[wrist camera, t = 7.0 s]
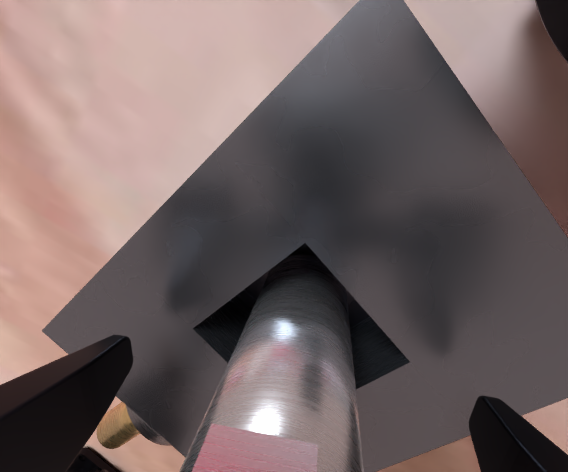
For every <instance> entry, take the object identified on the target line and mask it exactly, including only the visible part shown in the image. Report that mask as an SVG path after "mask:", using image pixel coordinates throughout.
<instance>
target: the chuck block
mask: <svg viewBox="0 0 568 472" xmlns="http://www.w3.org/2000/svg"><path fill="white" fill-rule="evenodd" d="M294 255H312V256H316V257H318V258H319V259H320V260H321V261H322V262H323V263H324V264H325V266H326V267H327V268H328V269H329V270H330V271H331V272H332V274H333V275H334V276H335V277H336V278H337V279H338V280H339V281H340V283H341V284H342V285H343V286H344V287H345V288H346V293H347V303H348V313H349V324H350V334H351V345H352V355H353V365H354V376H355V386H356V397H357V407H358V417H359V428H360V438H361V449H362V459H363V469H364V472H376V471H379V470H381V469H384V468H386V467H389V466H392V465H394V464H397V463H399V462H402V461H405V460H407V459H410V458H412V457H415V456H418V455H420V454H423V453H425V452H428V451H431V450H433V449H436V448H438V447H441V446H444V445H446V444H449V443H451V442H454V441H457V440H459V439H462V438H464V437H467V436H470V435H471V434H470V431H469V418H470V416H471V413H472V410H473V408H474V405H475V403H476V400H477V398H478V397H479V396H482V395H483V396H489V397H495V398H499V399H501V400H502V401H503V402H505V403H506V404H507V405H508V406H509V407H511V408H512V409H513V410H514V411H515V412H517V413H518V414H519V415H520V416H522V415H524V414H527V413H529V412H532V411H535V410H537V409H540V408H542V407H545V406H548V405H550V404H553V403H555V402H558V401H561V400H563V399H566V398H568V238H567V236H566V235H565V233H564V232H563V230H562V229H561V227H560V226H559V225H558V223H557V222H556V220H555V219H554V217H553V216H552V214H551V213H550V212H549V210H548V209H547V207H546V206H545V204H544V203H543V201H542V200H541V198H540V197H539V196H538V194H537V193H536V191H535V190H534V188H533V187H532V185H531V184H530V183H529V181H528V180H527V178H526V177H525V175H524V174H523V172H522V171H521V170H520V168H519V167H518V165H517V164H516V162H515V161H514V159H513V158H512V157H511V155H510V154H509V152H508V151H507V149H506V148H505V146H504V145H503V144H502V142H501V141H500V139H499V138H498V136H497V135H496V133H495V132H494V131H493V129H492V128H491V126H490V125H489V123H488V122H487V120H486V119H485V118H484V116H483V115H482V113H481V112H480V110H479V109H478V107H477V106H476V105H475V103H474V102H473V100H472V99H471V97H470V96H469V94H468V93H467V91H466V90H465V89H464V87H463V86H462V84H461V83H460V81H459V80H458V78H457V77H456V76H455V74H454V73H453V71H452V70H451V68H450V67H449V65H448V64H447V63H446V61H445V60H444V58H443V57H442V55H441V54H440V52H439V51H438V50H437V48H436V47H435V45H434V44H433V42H432V41H431V39H430V38H429V37H428V35H427V34H426V32H425V31H424V29H423V28H422V26H421V25H420V24H419V22H418V21H417V19H416V18H415V16H414V15H413V13H412V12H411V11H410V9H409V8H408V6H407V5H406V3H405V2H404V0H360V1H359V2H358V3H357V4H356V5H355V6H354V7H353V8H352V9H351V10H350V11H349V12H348V13H347V14H346V15H345V16H344V17H343V18H342V19H341V20H340V21H339V22H338V23H337V25H336V26H335V27H334V28H333V29H332V30H331V31H330V32H329V33H328V34H327V35H326V36H325V37H324V38H323V39H322V40H321V41H320V42H319V43H318V44H317V45H316V46H315V47H314V48H313V49H312V50H311V52H310V53H309V54H308V55H307V56H306V57H305V58H304V59H303V60H302V61H301V62H300V63H299V64H298V65H297V66H296V67H295V68H294V69H293V70H292V71H291V72H290V73H289V74H288V75H287V76H286V77H285V79H284V80H283V81H282V82H281V83H280V84H279V85H278V86H277V87H276V88H275V89H274V90H273V91H272V92H271V93H270V94H269V95H268V96H267V97H266V98H265V99H264V100H263V101H262V102H261V103H260V105H259V106H258V107H257V108H256V109H255V110H254V111H253V112H252V113H251V114H250V115H249V116H248V117H247V118H246V119H245V120H244V121H243V122H242V123H241V124H240V125H239V126H238V127H237V128H236V129H235V130H234V132H233V133H232V134H231V135H230V136H229V137H228V138H227V139H226V140H225V141H224V142H223V143H222V144H221V145H220V146H219V147H218V148H217V149H216V150H215V151H214V152H213V153H212V154H211V155H210V156H209V158H208V159H207V160H206V161H205V162H204V163H203V164H202V165H201V166H200V167H199V168H198V169H197V170H196V171H195V172H194V173H193V174H192V175H191V176H190V177H189V178H188V179H187V180H186V181H185V182H184V183H183V185H182V186H181V187H180V188H179V189H178V190H177V191H176V192H175V193H174V194H173V195H172V196H171V197H170V198H169V199H168V200H167V201H166V202H165V203H164V204H163V205H162V206H161V207H160V208H159V209H158V210H157V212H156V213H155V214H154V215H153V216H152V217H151V218H150V219H149V220H148V221H147V222H146V223H145V224H144V225H143V226H142V227H141V228H140V229H139V230H138V231H137V232H136V233H135V234H134V235H133V236H132V238H131V239H130V240H129V241H128V242H127V243H126V244H125V245H124V246H123V247H122V248H121V249H120V250H119V251H118V252H117V253H116V254H115V255H114V256H113V257H112V258H111V259H110V260H109V261H108V262H107V263H106V265H105V266H104V267H103V268H102V269H101V270H100V271H99V272H98V273H97V274H96V275H95V276H94V277H93V278H92V279H91V280H90V281H89V282H88V283H87V284H86V285H85V286H84V287H83V288H82V289H81V290H80V292H79V293H78V294H77V295H76V296H75V297H74V298H73V299H72V300H71V301H70V302H69V303H68V304H67V305H66V306H65V307H64V308H63V309H62V310H61V311H60V312H59V313H58V314H57V315H56V316H55V318H54V319H53V320H52V321H51V322H50V323H49V324H48V325H47V326H46V327H45V328H44V329H43V330H42V331H43V332H44V333H45V334H46V335H47V336H48V337H49V338H51V339H52V340H53V341H54V342H55V343H56V344H57V345H59V346H60V347H61V348H62V349H63V350H64V351H65V352H66V353H68V354H71V353H73V352H76V351H78V350H80V349H82V348H85V347H87V346H89V345H91V344H94V343H96V342H98V341H100V340H103V339H105V338H107V337H109V336H112V335H123V336H127V337H129V338H130V340H131V346H132V353H133V365H132V368H131V370H130V372H129V374H128V375H127V377H126V379H125V381H124V382H123V384H122V386H121V387H120V389H119V391H118V393H117V394H116V397H118V398H119V399H120V400H121V401H122V402H121V403H120V404H118V405H117V406H116V407H114V408H113V409H112V410H110V411H109V412H107V413H106V414H105V415H104V417H103V418H102V420H101V422H100V423H99V425H98V427H97V437H98V440H99V442H100V443H101V444H102V445H103V446H104V447H106V448H109V449H114V448H118V447H120V446H122V445H123V444H125V443H126V442H128V441H129V440H131V439H133V438H134V437H136V436H137V435H139V434H140V433H141V434H142V435H143V436H144V437H145V438H147V439H148V440H150V441H152V442H154V443H157V444H160V445H172V446H173V447H174V448H176V449H177V450H178V451H179V452H180V453H181V454H182V455H184V456H185V457H186V456H187V454H188V452H189V449H190V447H191V445H192V443H193V441H194V438H195V436H196V434H197V432H198V429H199V427H200V425H201V423H202V420H203V418H204V416H205V414H206V412H207V409H208V407H209V405H210V403H211V400H212V398H213V396H214V394H215V392H216V389H217V387H218V385H219V383H220V380H221V378H222V376H223V374H224V372H225V369H226V367H227V365H228V363H229V360H230V358H231V356H232V354H233V352H234V349H235V347H236V345H237V343H238V340H239V338H240V336H241V334H242V332H243V329H244V327H245V325H246V323H247V320H248V318H249V316H250V314H251V311H252V309H253V307H254V305H255V303H256V300H257V298H258V296H259V294H260V291H261V289H262V287H263V285H264V283H265V280H266V278H267V276H268V274H269V272H270V270H271V269H272V268H273V267H274V266H275V265H277V264H278V263H279V262H281V261H282V260H283V259H285V258H287V257H290V256H294Z"/></svg>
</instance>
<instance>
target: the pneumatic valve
mask: <svg viewBox="0 0 568 472" xmlns="http://www.w3.org/2000/svg"><path fill="white" fill-rule="evenodd" d="M535 2H536V6H537V9H538V12H539V15H540V18H541V20H542V23H543V25H544V27H545V29H546V31H547V33H548V35H549V37H550V39H551V40H552V42H553V44H554V45H555V47H556V48H557V50H558V51H559V53H560V54H561V56H562V57H563V58H564V59H565V61H566V62H567V63H568V0H535Z"/></svg>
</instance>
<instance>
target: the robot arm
mask: <svg viewBox="0 0 568 472" xmlns="http://www.w3.org/2000/svg"><path fill="white" fill-rule="evenodd" d="M132 365H133V353H132V346H131V340H130V338H129V337H127V336H123V335H112V336H109V337H107V338H105V339H103V340H100V341H98V342H96V343H94V344H91V345H89V346H87V347H85V348H82V349H80V350H78V351H76V352H73V353H71V354H69V355H67V356H64V357H62V358H60V359H58V360H55V361H53V362H51V363H49V364H47V365H44V366H42V367H40V368H38V369H35V370H33V371H31V372H29V373H26V374H24V375H22V376H20V377H17V378H15V379H13V380H11V381H8V382H6V383H4V384H2V385H0V472H116V471H115V470H114V469H112V468H111V467H110V466H109V465H108V464H106V463H105V462H104V461H103V460H102V459H100V458H99V457H98V456H97V455H95V454H94V453H93V452H92V451H91V450H89V449H87V448H83V447H84V445H85V444H86V442H87V441H88V440H89V438H90V437H91V435H92V434H93V432H94V431H95V429H96V428H97V426H98V425H99V423H100V422H101V420H102V418H103V417H104V415H105V413H106V412H107V410H108V408H109V406H110V405H111V403H112V401H113V400H114V398H115V396H116V394H117V393H118V391H119V389H120V387H121V386H122V384H123V382H124V381H125V379H126V377H127V375H128V374H129V372H130V370H131V368H132ZM469 431H470V434H471V438H472V441H473V445H474V449H475V452H476V456H477V459H478V463H479V466H480V470H481V472H568V455H567V454H566V453H565V452H564V451H562V450H561V449H560V448H559V447H558V446H556V445H555V444H554V443H553V442H552V441H550V440H549V439H548V438H547V437H546V436H544V435H543V434H542V433H541V432H540V431H538V430H537V429H536V428H535V427H534V426H532V425H531V424H530V423H529V422H528V421H526V420H525V419H524V418H523V417H522V416H520V415H519V414H518V413H517V412H515V411H514V410H513V409H512V408H511V407H509V406H508V405H507V404H506V403H505V402H503V401H502V400H501V399H499V398H495V397H489V396H483V395H482V396H479V397H478V398H477V400H476V403H475V405H474V408H473V410H472V413H471V416H470V418H469Z"/></svg>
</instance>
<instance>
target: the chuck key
mask: <svg viewBox="0 0 568 472" xmlns="http://www.w3.org/2000/svg"><path fill="white" fill-rule="evenodd" d="M180 472H364V469H363V459H362V449H361V438H360V428H359V417H358V407H357V397H356V386H355V376H354V365H353V355H352V345H351V334H350V324H349V313H348V303H347V293H346V288H345V287H344V286H343V285H342V284H341V283H340V281H339V280H338V279H337V278H336V277H335V276H334V275H333V274H332V272H331V271H330V270H329V269H328V268H327V267H326V266H325V264H324V263H323V262H322V261H321V260H320V259H319V258H318V257H316V256H312V255H294V256H290V257H287V258H285V259H283V260H282V261H281V262H279V263H278V264H277V265H275V266H274V267H273V268H272V269H271V270H270V272H269V274H268V276H267V278H266V280H265V283H264V285H263V287H262V289H261V291H260V294H259V296H258V298H257V300H256V303H255V305H254V307H253V309H252V311H251V314H250V316H249V318H248V320H247V323H246V325H245V327H244V329H243V332H242V334H241V336H240V338H239V340H238V343H237V345H236V347H235V349H234V352H233V354H232V356H231V358H230V360H229V363H228V365H227V367H226V369H225V372H224V374H223V376H222V378H221V380H220V383H219V385H218V387H217V389H216V392H215V394H214V396H213V398H212V400H211V403H210V405H209V407H208V409H207V412H206V414H205V416H204V418H203V420H202V423H201V425H200V427H199V429H198V432H197V434H196V436H195V438H194V441H193V443H192V445H191V447H190V449H189V452H188V454H187V456H186V458H185V461H184V463H183V465H182V467H181V469H180Z"/></svg>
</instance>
